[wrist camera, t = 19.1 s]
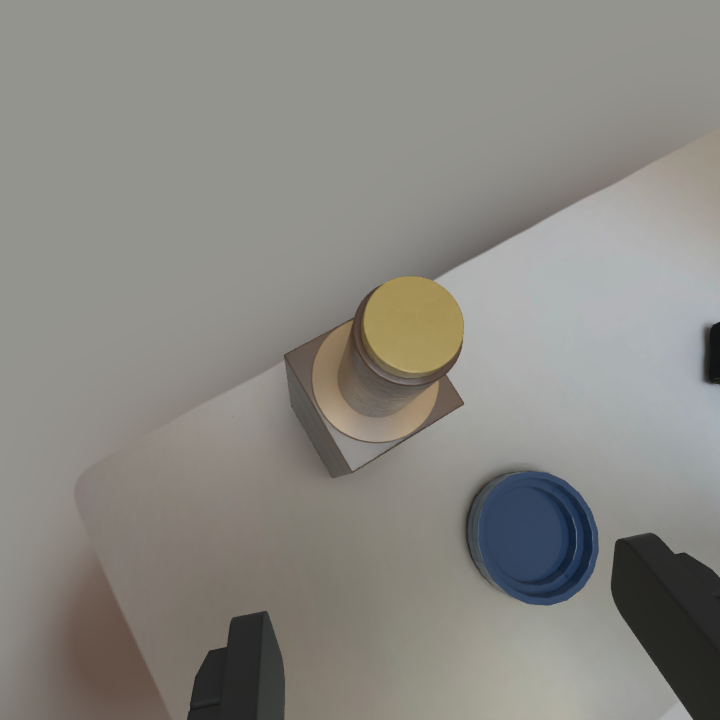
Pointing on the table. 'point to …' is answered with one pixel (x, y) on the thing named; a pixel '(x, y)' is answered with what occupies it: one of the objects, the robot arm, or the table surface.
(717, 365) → the tape measure
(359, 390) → the brown jar
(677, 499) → the table surface
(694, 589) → the robot arm
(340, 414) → the coaster
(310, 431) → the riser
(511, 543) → the blue dish
